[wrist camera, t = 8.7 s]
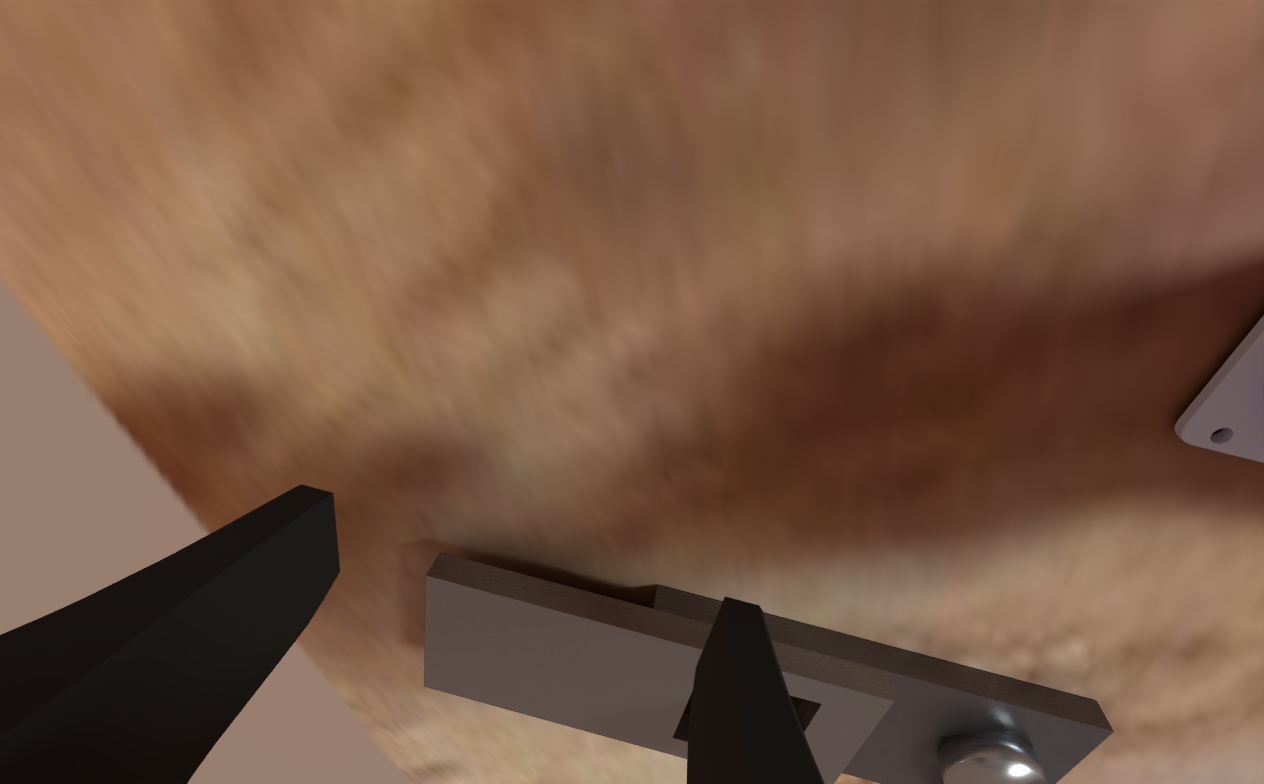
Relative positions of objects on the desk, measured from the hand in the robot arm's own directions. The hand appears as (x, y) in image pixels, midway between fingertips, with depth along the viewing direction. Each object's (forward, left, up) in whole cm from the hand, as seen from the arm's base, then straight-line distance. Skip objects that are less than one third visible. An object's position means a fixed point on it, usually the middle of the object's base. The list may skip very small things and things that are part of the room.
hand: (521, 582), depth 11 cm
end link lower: (-12, +13, -9) cm, 20 cm away
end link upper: (-4, +13, -9) cm, 16 cm away
